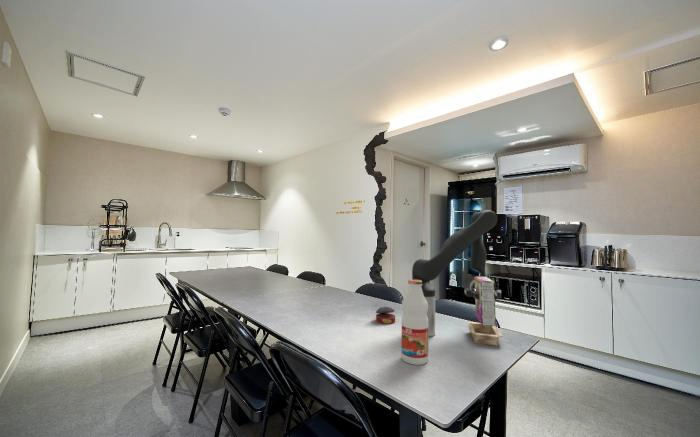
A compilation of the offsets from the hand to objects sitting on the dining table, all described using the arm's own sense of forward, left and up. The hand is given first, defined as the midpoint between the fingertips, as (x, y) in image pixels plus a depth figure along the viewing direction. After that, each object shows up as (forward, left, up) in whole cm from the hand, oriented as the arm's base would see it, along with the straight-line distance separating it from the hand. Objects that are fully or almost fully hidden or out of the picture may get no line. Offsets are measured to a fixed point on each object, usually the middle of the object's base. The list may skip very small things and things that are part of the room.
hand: (486, 297), depth 107 cm
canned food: (-43, +30, -22) cm, 57 cm away
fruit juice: (-25, -12, -22) cm, 35 cm away
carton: (+2, +21, -22) cm, 31 cm away
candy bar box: (0, +4, -10) cm, 11 cm away
